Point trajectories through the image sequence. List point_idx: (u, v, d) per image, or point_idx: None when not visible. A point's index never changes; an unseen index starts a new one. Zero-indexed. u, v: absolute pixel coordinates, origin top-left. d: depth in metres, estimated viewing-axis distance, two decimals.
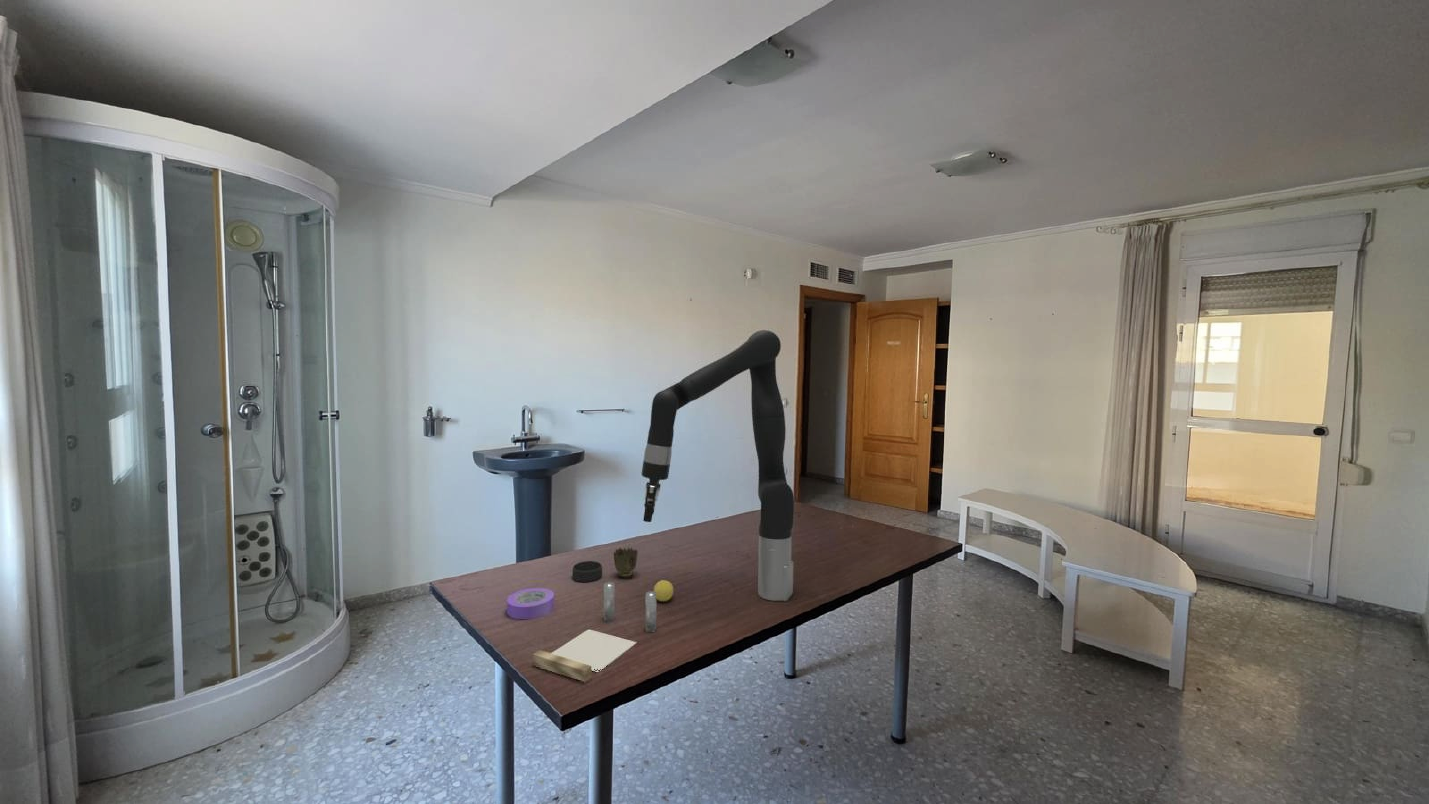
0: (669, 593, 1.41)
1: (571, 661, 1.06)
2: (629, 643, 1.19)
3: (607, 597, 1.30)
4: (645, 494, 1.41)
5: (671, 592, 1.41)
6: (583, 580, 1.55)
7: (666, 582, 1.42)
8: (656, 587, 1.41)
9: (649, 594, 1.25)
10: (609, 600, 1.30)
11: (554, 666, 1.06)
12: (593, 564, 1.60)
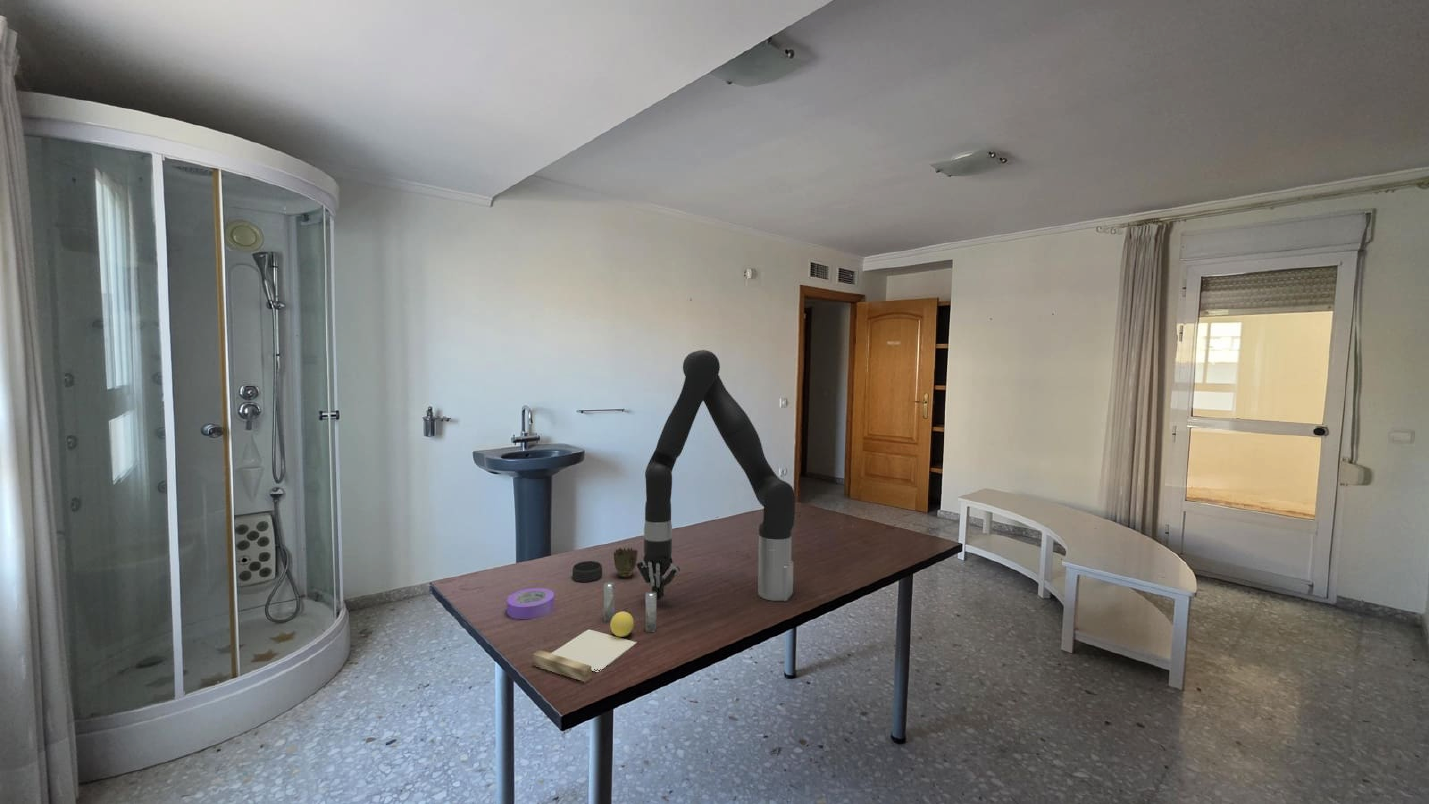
0: (629, 631, 1.21)
1: (571, 661, 1.06)
2: (629, 643, 1.19)
3: (607, 597, 1.30)
4: (659, 575, 1.38)
5: (631, 627, 1.21)
6: (583, 580, 1.55)
7: (620, 624, 1.20)
8: None
9: (649, 594, 1.25)
10: (609, 600, 1.30)
11: (554, 666, 1.06)
12: (593, 564, 1.60)
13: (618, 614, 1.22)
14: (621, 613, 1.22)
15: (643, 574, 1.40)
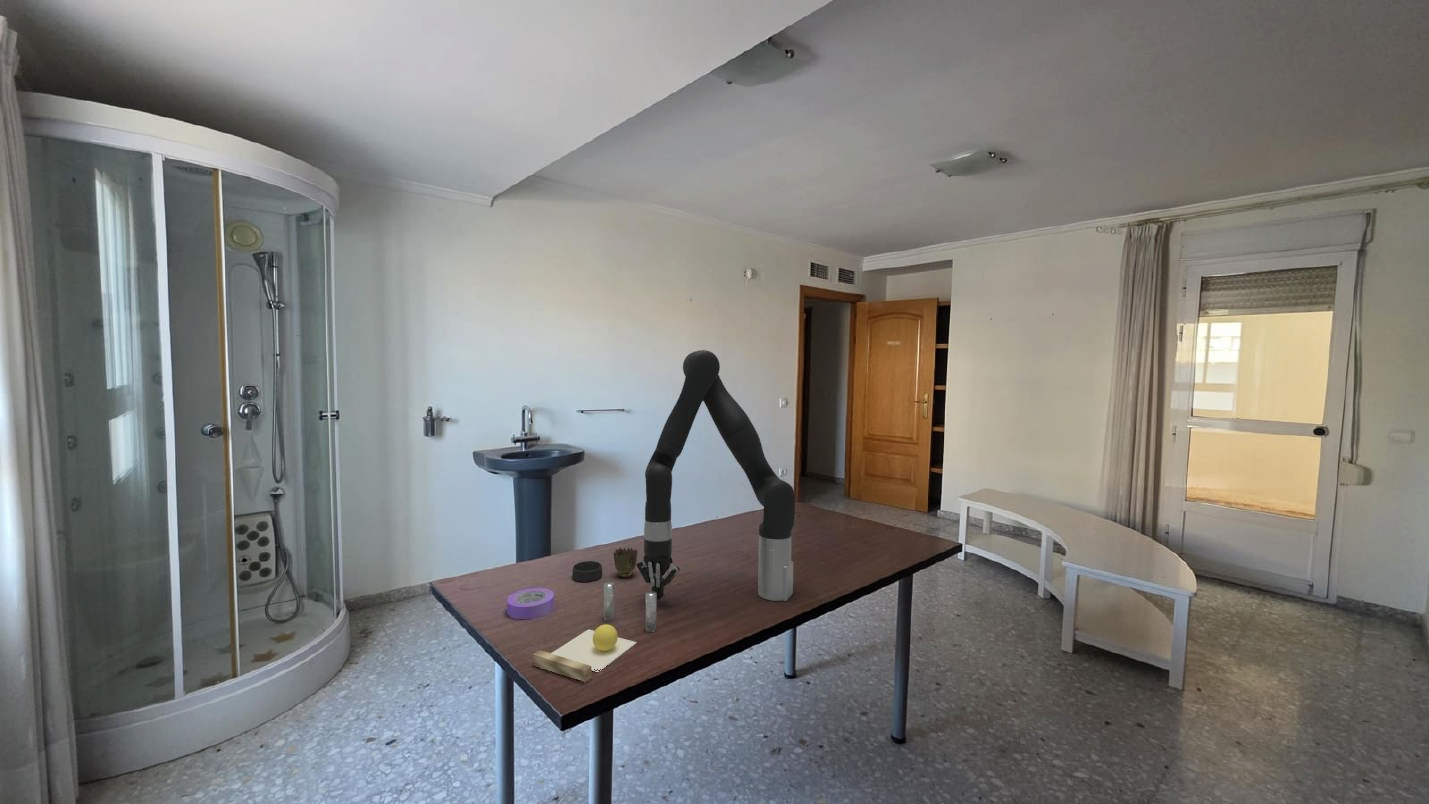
0: (617, 635, 1.16)
1: (571, 661, 1.06)
2: (629, 643, 1.19)
3: (607, 597, 1.30)
4: (659, 575, 1.38)
5: (616, 638, 1.15)
6: (583, 580, 1.55)
7: None
8: None
9: (649, 594, 1.25)
10: (609, 600, 1.30)
11: (554, 666, 1.06)
12: (593, 564, 1.60)
13: None
14: None
15: (643, 574, 1.40)
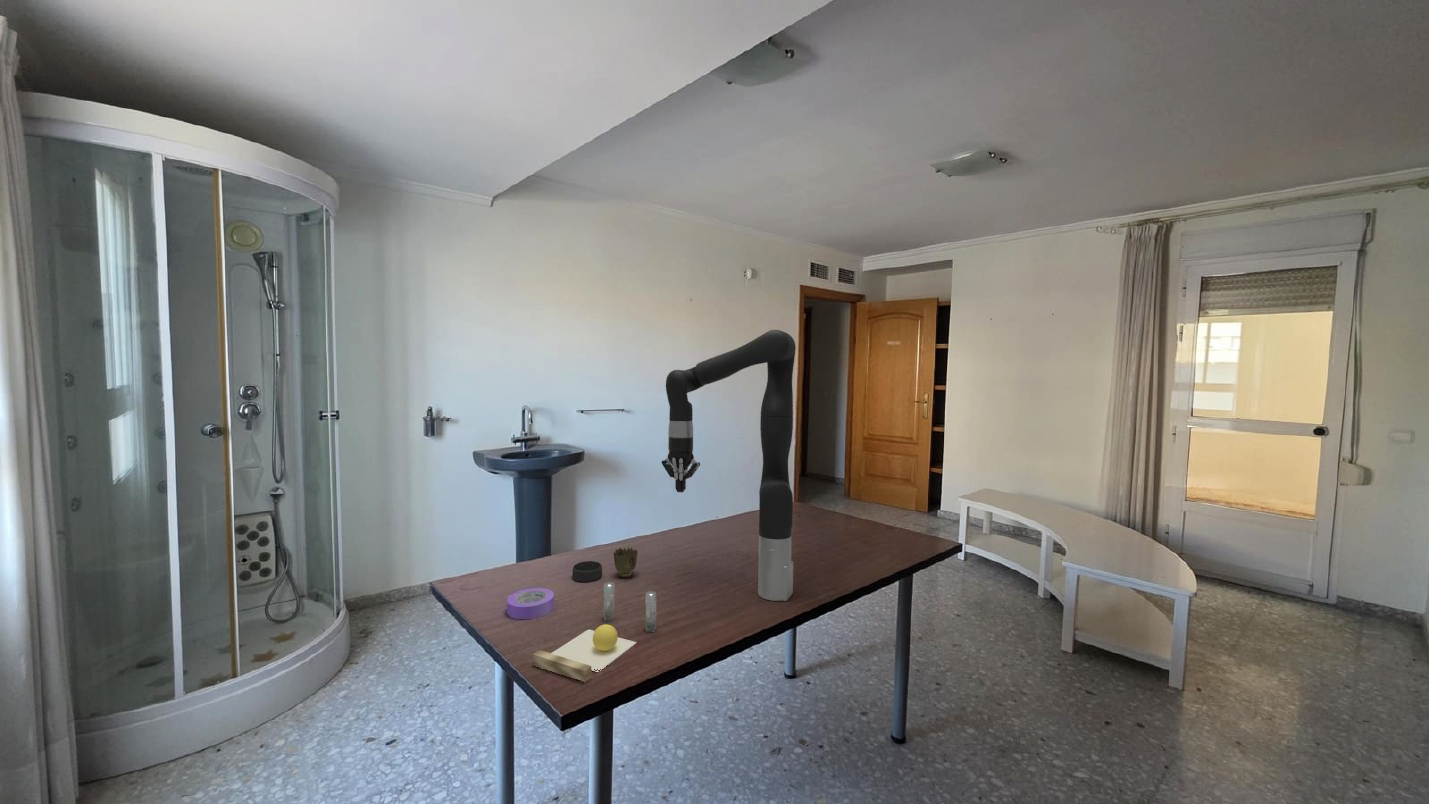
0: (617, 635, 1.16)
1: (571, 661, 1.06)
2: (629, 643, 1.19)
3: (607, 597, 1.30)
4: (682, 469, 1.56)
5: (616, 638, 1.15)
6: (583, 580, 1.55)
7: None
8: None
9: (649, 594, 1.25)
10: (609, 600, 1.30)
11: (554, 666, 1.06)
12: (593, 564, 1.60)
13: None
14: None
15: (667, 470, 1.58)
